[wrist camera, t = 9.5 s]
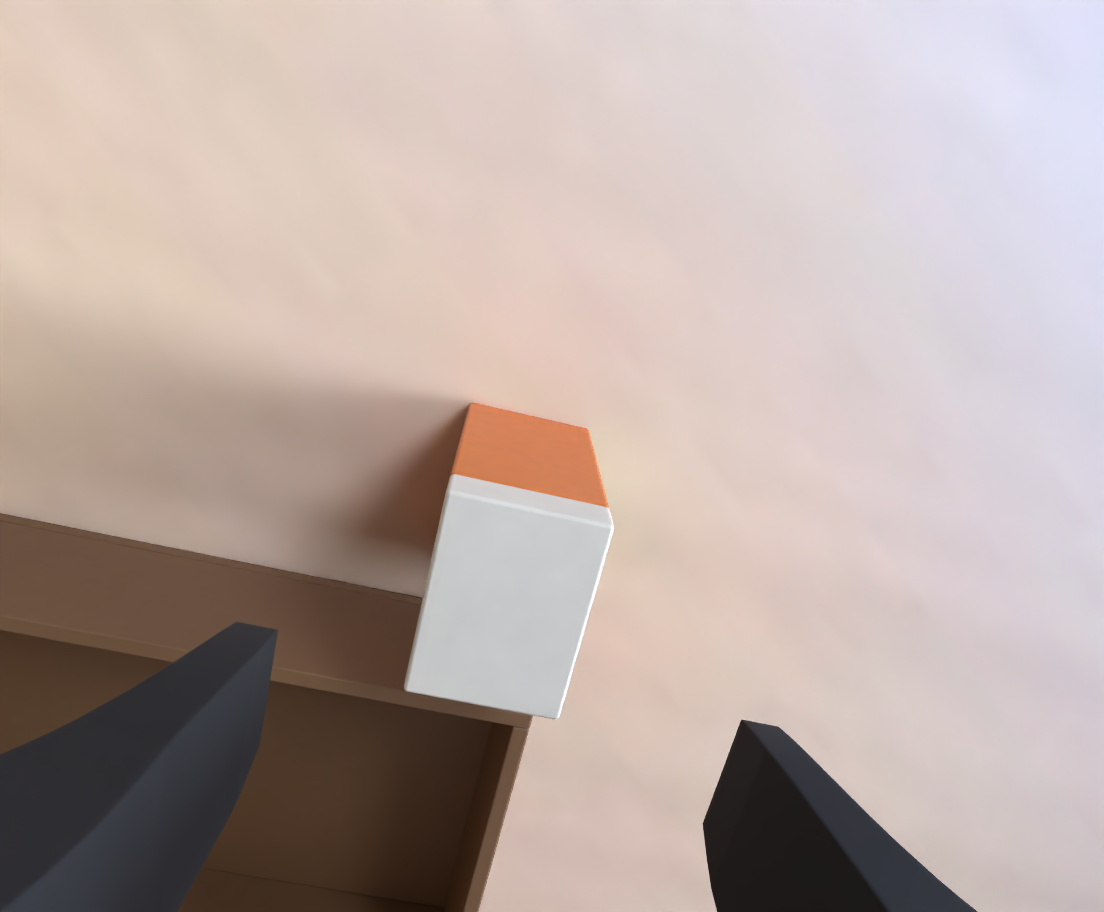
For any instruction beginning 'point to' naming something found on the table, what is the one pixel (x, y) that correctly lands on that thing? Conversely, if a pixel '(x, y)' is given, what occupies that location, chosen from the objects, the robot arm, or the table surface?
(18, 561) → the carton
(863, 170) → the table surface
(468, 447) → the tea packet
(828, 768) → the table surface
